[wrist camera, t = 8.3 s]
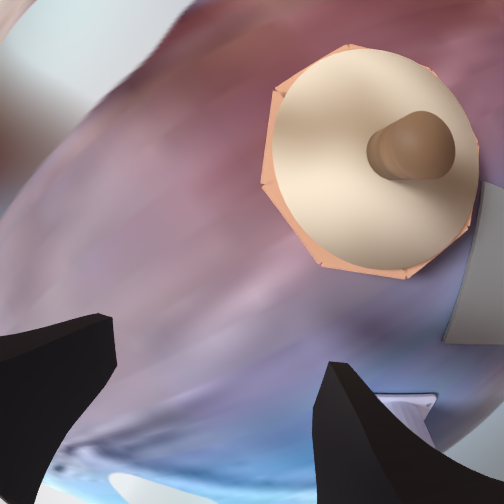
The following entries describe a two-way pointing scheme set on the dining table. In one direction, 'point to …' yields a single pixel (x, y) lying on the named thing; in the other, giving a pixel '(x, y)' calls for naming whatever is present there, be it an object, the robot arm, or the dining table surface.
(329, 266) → the octagonal bowl
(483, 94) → the dining table surface
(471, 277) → the mat
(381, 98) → the lid
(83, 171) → the dining table surface
